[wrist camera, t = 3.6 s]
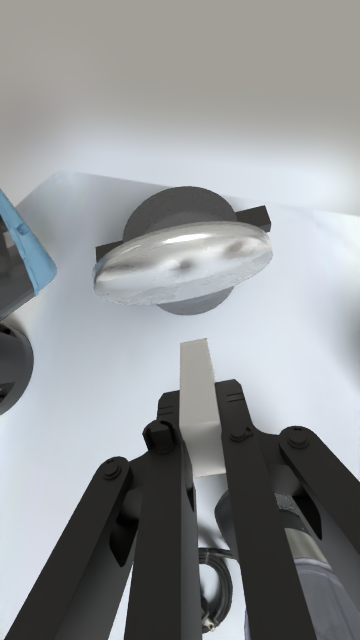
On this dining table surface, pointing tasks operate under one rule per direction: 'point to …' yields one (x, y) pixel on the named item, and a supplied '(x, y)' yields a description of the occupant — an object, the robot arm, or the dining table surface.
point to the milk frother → (313, 570)
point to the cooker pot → (180, 210)
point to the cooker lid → (181, 263)
